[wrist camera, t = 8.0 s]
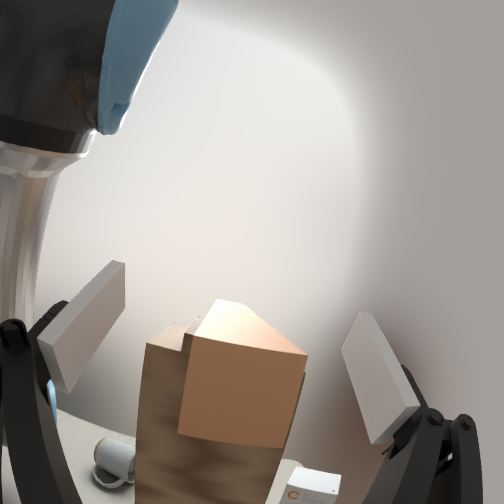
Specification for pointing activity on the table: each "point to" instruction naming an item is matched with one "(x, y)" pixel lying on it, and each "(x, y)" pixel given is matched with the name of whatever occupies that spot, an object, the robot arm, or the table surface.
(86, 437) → the table surface
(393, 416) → the robot arm
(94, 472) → the ceramic mug
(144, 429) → the post
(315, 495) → the small box
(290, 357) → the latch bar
